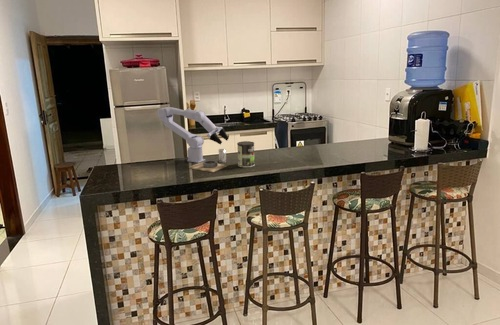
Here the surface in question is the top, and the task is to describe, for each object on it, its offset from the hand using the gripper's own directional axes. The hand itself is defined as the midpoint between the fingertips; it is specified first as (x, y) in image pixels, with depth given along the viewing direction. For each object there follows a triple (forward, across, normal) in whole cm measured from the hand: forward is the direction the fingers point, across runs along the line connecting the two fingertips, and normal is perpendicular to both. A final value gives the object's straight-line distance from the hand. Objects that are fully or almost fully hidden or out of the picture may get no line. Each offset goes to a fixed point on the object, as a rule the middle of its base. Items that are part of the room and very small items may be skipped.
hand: (224, 141), depth 227 cm
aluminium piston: (+7, +1, +13) cm, 15 cm away
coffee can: (+20, 0, +1) cm, 20 cm away
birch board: (+5, -14, +12) cm, 19 cm away
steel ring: (+6, -14, +11) cm, 19 cm away
